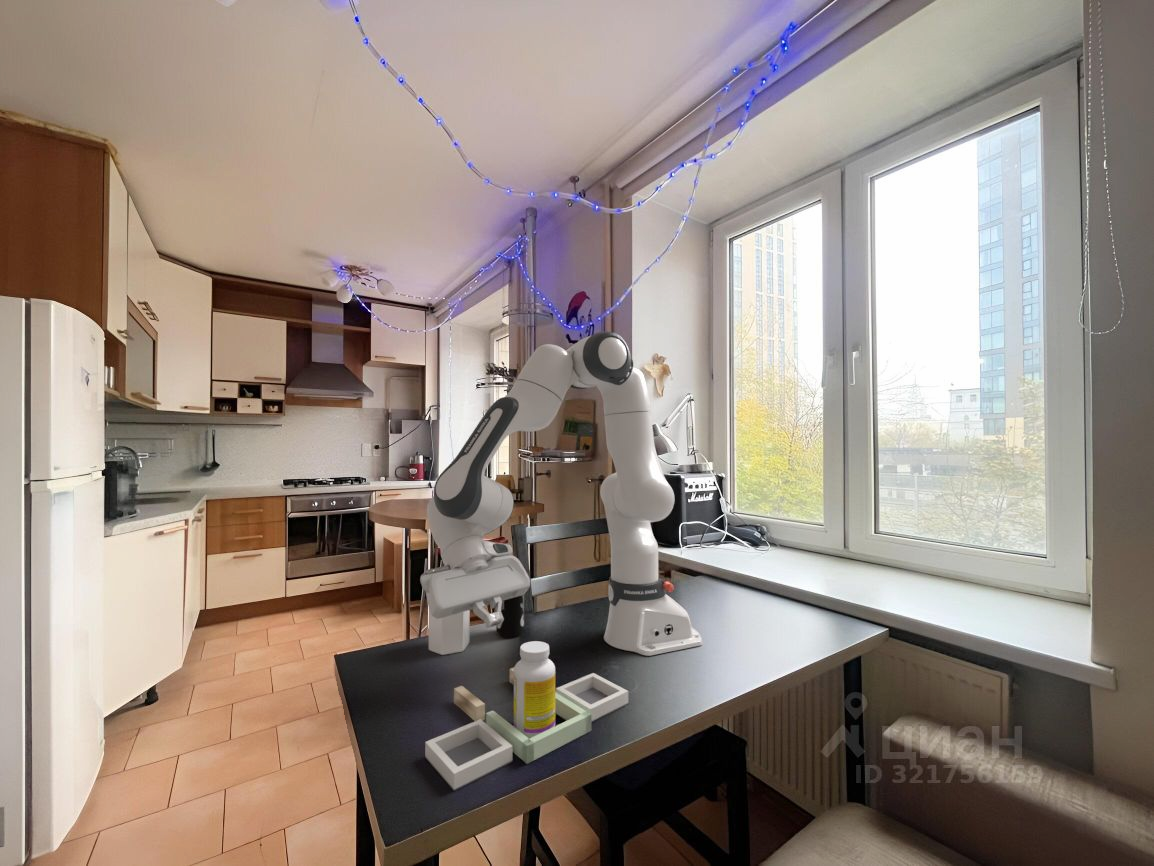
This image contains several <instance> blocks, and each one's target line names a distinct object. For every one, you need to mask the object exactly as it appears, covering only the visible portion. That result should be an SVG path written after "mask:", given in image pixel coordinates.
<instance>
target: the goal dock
mask: <svg viewBox="0 0 1154 866" xmlns="http://www.w3.org/2000/svg"><path fill="white" fill-rule="evenodd" d="M555 715H558V716H559V717H561V718H562V719H563V720H565V721H564V722H562V723H559V724H556V725H555V727H553V728H551V729H548V730H546V731H544V732H542V733H540V734H538V735H536V736H534V737H532V738H530V739H529V738H527V737H526V736H525V735H524V734H522V733H521V732H520V731H519V730H517V729H516V728H515V727H514V725H512V724H511V723H510V722H508V721H507V719H505V718H503V717H502V716H501V715H500V714H498V713H497V712H496V711H494V710H490V711H488V712H485V719H486V721H485V723H486V724H487V725H488V726H489V727H491V728H492V729H493V730H494V731H495V732H497V733H498V734H499V735H500V736H501V737H502V738H504V739H505V740H506V741H507V742H508V743H510V744H511V745H512V746H513V753H514V755H516V756H517V757H518V758H519V759H521V760H522V761H523V762H524V763H525V764H527V765H528V764H530V763H531V762H533V761H535V760H536V761H537V760H538V759H539V758H542V757H543V756H545V755H547V754H549V753H552V751H555V750H557V749H558V748H560V747H562V746H564V745H566V744H568V743H570V742H572V741H574V740H576V739H578V738H580V737H582V736H584V735H586V734H587V733H590V732H592V728H593V727H592V723H593V722H592V714H590V713H588V712H587V711H585V710H583V709H582V708H580V707H579V706H577V705H575V704H574V703H572V702H571V701H569V700H567V699H566V698H564V697H562V696H561V695H559V694H558V693H556V691H555Z"/></svg>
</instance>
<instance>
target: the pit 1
mask: <svg viewBox="0 0 1154 866" xmlns="http://www.w3.org/2000/svg"><path fill="white" fill-rule="evenodd" d="M424 743H425V745H424V746H425V747H424V748H425V752H424V755H425V756H424V758H425V759H426V760H427V762H428V763H429V764H430V765H431V767H433V768H434V770H436V772H437V773H438V774H439V776H440V777H441V778H442V779H443V780H444V781H445V783H447V784H448V786H449V787H450V788H451V789H452V791H454V792H455V791H457V790H459V789H461V788H463V787H465V786H467V785H469V784H471V783H472V782H473V783H474V782H475V781H477V780H479V779H482V778H483V777H485V776H487V775H490V774H491V773H493V772H496V771H497V770H499V769H501V768H503V767H505V766H507V765H509V764H511V763H513V753H514V752H513V746H512V745H511V744H510V743H508V742H507V741H506V740H505V739H504V738H502V737H501V736H500V735H499V734H498V733H497V732H495V731H494V730H493V729H492V728H491V727H489V726H488V725H487V724H486V721H484V720H481V719H480V720H477V721H474V722H473V721H472V722H470V723H468V724H466V725H463V726H460V727H458V728H456V729H453V730H451V731H449V732H446V733H443V734H441V735H439V736H436V737H434V738H431V739H429V740H427V741H425V742H424Z"/></svg>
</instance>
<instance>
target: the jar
mask: <svg viewBox="0 0 1154 866" xmlns="http://www.w3.org/2000/svg"><path fill="white" fill-rule="evenodd" d="M470 611H471V610H468V611H464V612H461V613H457V614H454V615H450V616H447V617H443V618H439V619H436V618H435V617H433V616H432V615H431V613H430V610H429V609H428V650H429V651H430V652H433V653H436V654H438V655H441V656H445V655H451V654H457V653H462V652H464V650H466V648H467V647H468V646H469V644H470V624H471V623H470V621H471V620H470V618H471V616H470V614H471V613H470Z"/></svg>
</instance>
